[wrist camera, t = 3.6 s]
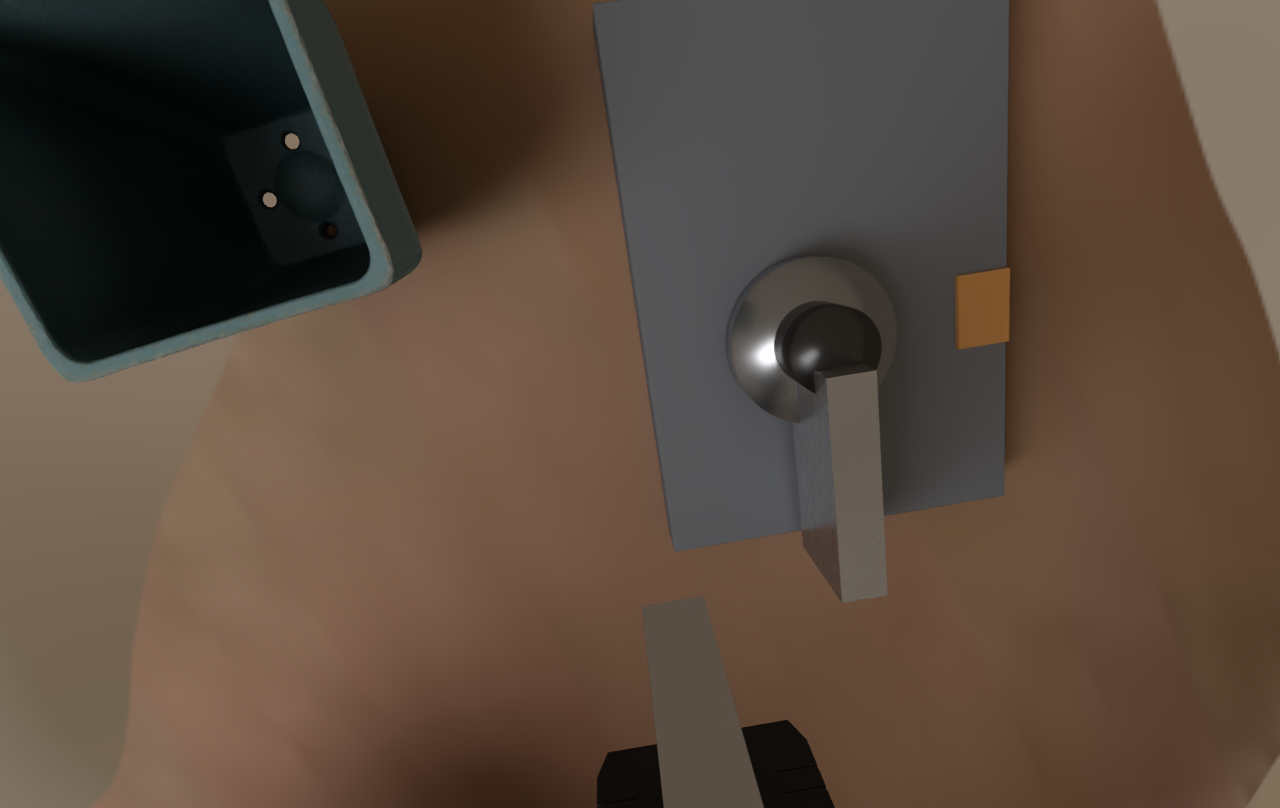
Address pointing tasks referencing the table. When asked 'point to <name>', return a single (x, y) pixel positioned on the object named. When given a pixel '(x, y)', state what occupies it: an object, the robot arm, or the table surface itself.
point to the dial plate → (813, 228)
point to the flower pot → (184, 175)
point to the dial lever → (824, 402)
